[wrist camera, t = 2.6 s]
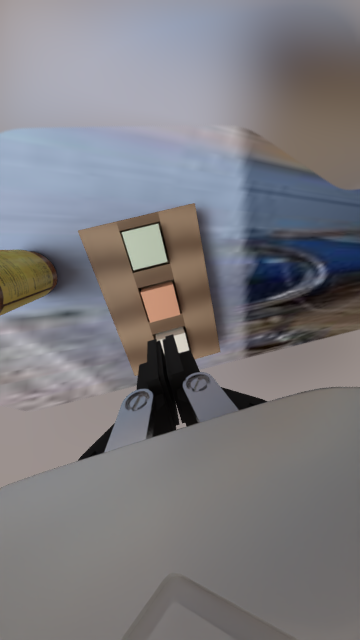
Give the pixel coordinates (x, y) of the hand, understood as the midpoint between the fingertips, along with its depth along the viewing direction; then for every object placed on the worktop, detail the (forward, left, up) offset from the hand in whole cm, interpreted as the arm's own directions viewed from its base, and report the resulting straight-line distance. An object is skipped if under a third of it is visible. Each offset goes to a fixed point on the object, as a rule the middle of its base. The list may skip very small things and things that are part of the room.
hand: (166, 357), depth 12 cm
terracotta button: (0, 0, -16) cm, 16 cm away
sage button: (+6, -4, -16) cm, 18 cm away
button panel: (0, 0, -19) cm, 19 cm away
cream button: (-6, +3, -16) cm, 18 cm away
